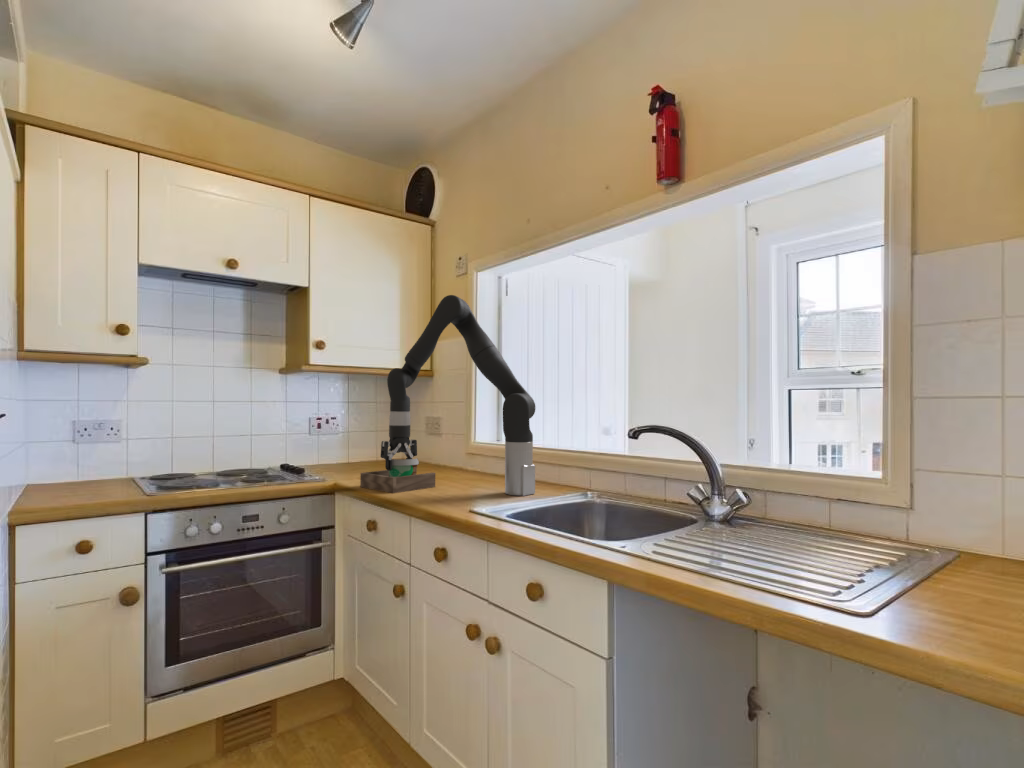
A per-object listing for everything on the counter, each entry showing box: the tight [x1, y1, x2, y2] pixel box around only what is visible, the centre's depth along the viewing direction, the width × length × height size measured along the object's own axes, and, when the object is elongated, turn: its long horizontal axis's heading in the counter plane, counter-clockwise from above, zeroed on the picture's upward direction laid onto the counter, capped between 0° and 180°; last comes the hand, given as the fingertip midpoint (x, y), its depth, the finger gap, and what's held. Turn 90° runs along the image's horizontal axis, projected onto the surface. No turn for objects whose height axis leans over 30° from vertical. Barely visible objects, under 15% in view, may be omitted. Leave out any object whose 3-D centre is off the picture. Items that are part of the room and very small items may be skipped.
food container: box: [389, 457, 420, 477], centre depth 193 cm, size 12×6×10 cm, turn 73°
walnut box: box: [359, 469, 436, 494], centre depth 193 cm, size 19×18×5 cm
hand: (398, 469), depth 194 cm, fingers open, 8 cm apart
